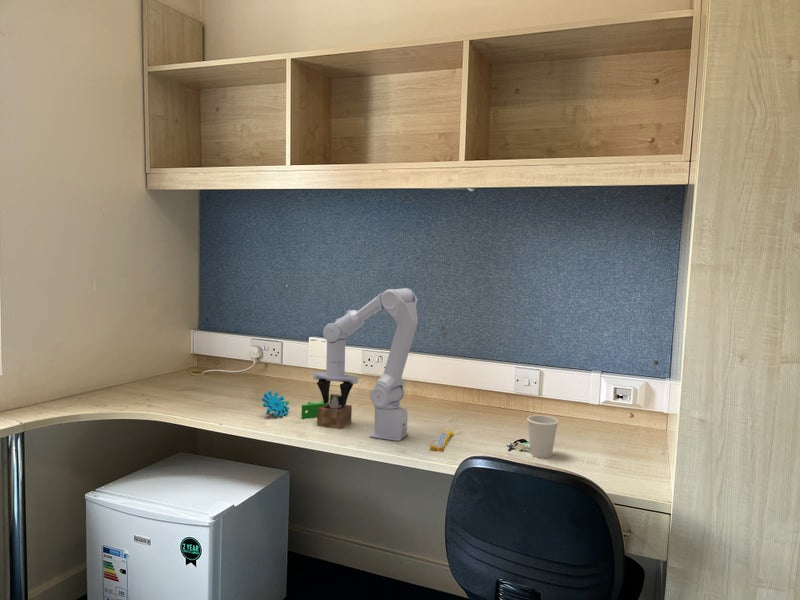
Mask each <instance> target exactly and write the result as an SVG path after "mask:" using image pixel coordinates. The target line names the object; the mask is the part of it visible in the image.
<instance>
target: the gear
mask: <svg viewBox="0 0 800 600" xmlns="http://www.w3.org/2000/svg"><path fill="white" fill-rule="evenodd" d="M279 395H280V394H279V392H277V391H276V392H273V391H271V390H269V391H268V392H265V393H264V394H263V397H262V398H261V401H262V402H263V403H262V407H263V408H267V409H266V414H267V415H269V414H270V413H271V412H273V413H272V416H273V417H275V418H276V417H278V418H280V417H282V418H283V417H284V416H285V415H286V416H287V415H288V414H289V413H288V412H289V410H290V407H289V406H288V405H289V404H290V403H291V400H289V399H287V400H286V401H285V397H284V395H280V397H279Z"/></svg>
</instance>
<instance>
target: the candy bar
mask: <svg viewBox="0 0 800 600" xmlns="http://www.w3.org/2000/svg"><path fill="white" fill-rule="evenodd" d="M454 434H455V431H450V430H440V432H439V435H438V437H437V438H436V439H435V442H434V443H433V444H431V445H430V448H429V450H430V451H432V450H439V451H438V452H444V449H445V448H446V447H447V445H448V443H449V442H448V441H450V440H449V439H452V436H454ZM447 442H448V443H447ZM446 444H447V445H446ZM445 446H446V447H445Z"/></svg>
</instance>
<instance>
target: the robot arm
mask: <svg viewBox="0 0 800 600" xmlns="http://www.w3.org/2000/svg"><path fill="white" fill-rule="evenodd" d="M417 304H418V298H417V296H416V295H415V293H414V291H413V290H412V289H411V288H407V287H403V288H394V289H392V288H389V289H386V290H384V291H383V292H381V293H378V295H377V296H376V297H374V298H373V299H372V300H370V301H369V302H368V303H366V304H365V305H364V306H362V307H361V308H360V309H359V310H355V309H352V310H351V309H349V310H347V311H345V315H344V316H341V317H340V318H336V319H335V322H331V323H326V325H325V326H324V328H323V330H322V331H323V332H322V333H323V334H322V335H323V338H324V340H325V341H326V366H325V368H326V372H318V371H316V372H314V373H313V375H312V376H313V377H312V379H313V380H315V381H316V380H318V381H316V385H317V386H318V389H319V391H320V393H321V397H322V401H323V402H324V404H326V403H329V402H330V386H331V382H338V383H339V382H340V384H339V388H340V395H341V406H344V405H347V401H348V398H349V395H350V392H351V390H352V388H353V386H354V385H356V384H358V383H359V377H358V376H355V375H349V374H346V370H345V369H346V345H347V340H348V338H349V337H350V335H351V334H353V333H354V332H356V331H357V330H358V329H360V328H362V327H364V324H365V320H367V319H369V318H370V317H371V316H373V315H375V314H376V313H378V312H380V311H382V310H385V311H386V312H387V313H388V314H389V315H390V316H391V317H392V318H393V319H394V320H395V322H396V323H397V324H396V325H397V326H396V328H395V333H394V336H393V339H392V343H391V346H390V350H389V353H388V356H387V360H386V364H385V367H384V371H383V374H382V375H380V377H378V379H377V380H376V383H375V386H374V387H373V388H372V390H371V391H370V400H371V403H372V405H373V407H374V425H373V426H374V427H373V428H374V429H373V432H371V433H370V434H369V438H376V439H380V440H381V439H383V440H388V441H389V440H390V441H396V442H398V441H399V442H400V441H401V440H402V439H404V437H406V435H408V434H409V433H408V409H407V408H405V407H401V406H400V403H401V401H402V400H403V398H404V396H405V390H404V388H405V387H404V385H405V382H406V381H405V380H404V379H403V378H402V377H403V373H404V370H405V368H406V363H407V360H408V357H409V353H410V349H411V346H412V343H413V340H414V336H415V333H416V331H417V328H418V323H419V319H418V312H417Z"/></svg>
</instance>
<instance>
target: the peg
mask: <svg viewBox="0 0 800 600" xmlns="http://www.w3.org/2000/svg"><path fill="white" fill-rule="evenodd" d="M329 402H330V404H329V409H336V410H339V409H341V408H342V406H341V393H340V394H339V393H338V394H337V393H331V394H329Z"/></svg>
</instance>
